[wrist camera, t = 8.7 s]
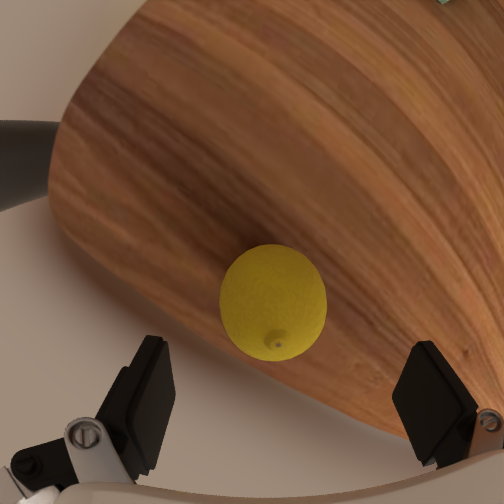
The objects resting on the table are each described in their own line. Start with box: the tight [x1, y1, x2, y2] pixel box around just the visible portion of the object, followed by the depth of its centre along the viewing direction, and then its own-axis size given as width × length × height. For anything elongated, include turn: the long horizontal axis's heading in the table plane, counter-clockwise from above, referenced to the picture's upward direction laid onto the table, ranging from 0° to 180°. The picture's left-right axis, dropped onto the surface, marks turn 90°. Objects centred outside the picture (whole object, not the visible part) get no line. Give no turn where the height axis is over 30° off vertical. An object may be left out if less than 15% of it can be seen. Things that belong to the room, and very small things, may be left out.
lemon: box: [219, 244, 327, 361], centre depth 15 cm, size 6×6×8 cm
